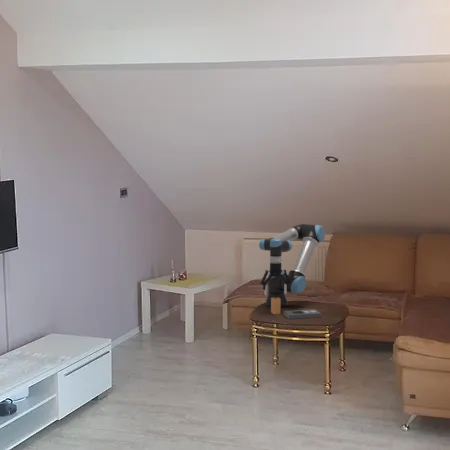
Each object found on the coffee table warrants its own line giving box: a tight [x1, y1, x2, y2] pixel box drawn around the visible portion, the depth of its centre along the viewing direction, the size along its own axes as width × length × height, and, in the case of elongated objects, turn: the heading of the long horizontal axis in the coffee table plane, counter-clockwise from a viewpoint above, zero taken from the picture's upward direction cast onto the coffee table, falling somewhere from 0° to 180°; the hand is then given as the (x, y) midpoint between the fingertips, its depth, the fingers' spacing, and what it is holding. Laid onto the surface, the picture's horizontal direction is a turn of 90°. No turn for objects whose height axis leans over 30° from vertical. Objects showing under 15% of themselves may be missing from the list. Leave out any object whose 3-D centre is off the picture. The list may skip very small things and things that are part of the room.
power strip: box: [282, 309, 322, 320], centre depth 446 cm, size 12×22×3 cm, turn 103°
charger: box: [270, 297, 282, 315], centre depth 454 cm, size 5×5×10 cm
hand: (275, 294), depth 453 cm, fingers open, 13 cm apart
